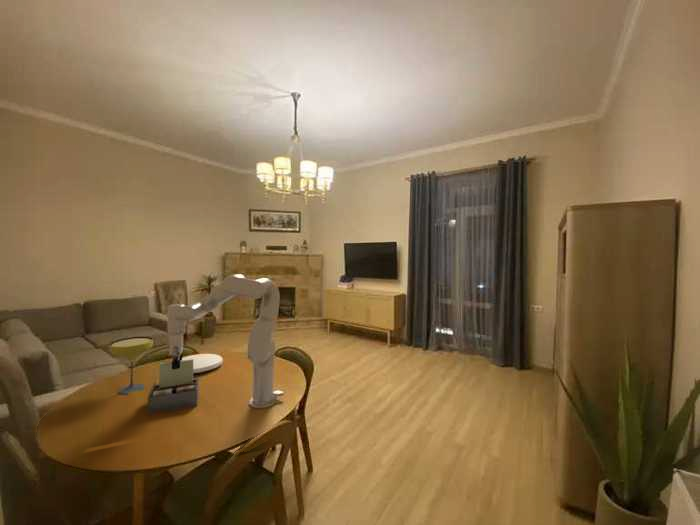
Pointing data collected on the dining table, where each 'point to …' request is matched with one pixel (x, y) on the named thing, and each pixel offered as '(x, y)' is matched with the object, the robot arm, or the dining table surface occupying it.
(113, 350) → the cocktail glass
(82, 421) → the dining table surface
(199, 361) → the plate
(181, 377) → the sage sheet
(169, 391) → the brown offcut
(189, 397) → the rack
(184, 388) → the walnut offcut
